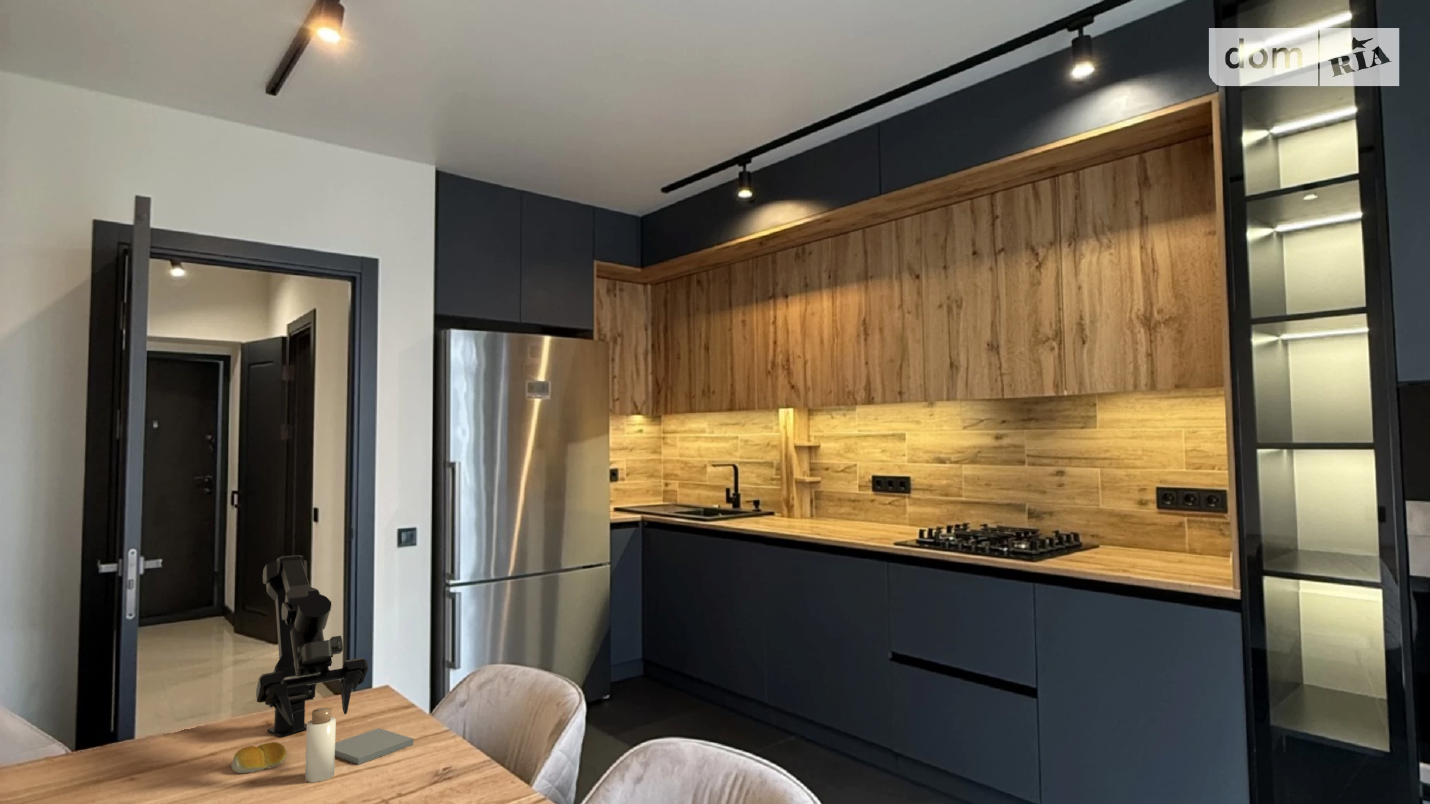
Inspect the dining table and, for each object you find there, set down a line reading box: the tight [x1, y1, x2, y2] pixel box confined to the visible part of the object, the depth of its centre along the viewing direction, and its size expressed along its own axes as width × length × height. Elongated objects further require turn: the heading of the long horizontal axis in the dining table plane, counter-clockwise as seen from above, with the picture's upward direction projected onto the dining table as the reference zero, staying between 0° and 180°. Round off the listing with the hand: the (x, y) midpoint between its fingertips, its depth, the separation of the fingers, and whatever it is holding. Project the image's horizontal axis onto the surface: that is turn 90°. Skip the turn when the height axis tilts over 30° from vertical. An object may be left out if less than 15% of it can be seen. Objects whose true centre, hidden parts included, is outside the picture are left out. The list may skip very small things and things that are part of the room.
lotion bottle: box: [304, 707, 337, 783], centre depth 138 cm, size 5×5×12 cm
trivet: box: [335, 727, 414, 766], centre depth 152 cm, size 12×12×1 cm
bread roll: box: [230, 741, 287, 774], centre depth 145 cm, size 8×9×4 cm
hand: (319, 718), depth 140 cm, fingers open, 9 cm apart
